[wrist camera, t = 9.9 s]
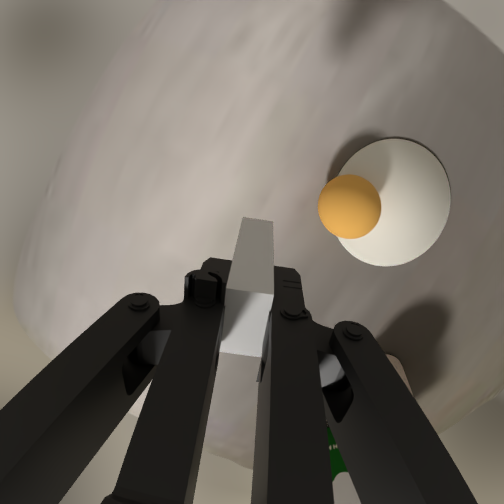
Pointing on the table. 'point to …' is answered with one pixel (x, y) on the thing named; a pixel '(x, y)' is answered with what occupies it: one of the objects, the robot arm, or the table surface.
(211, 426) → the table surface
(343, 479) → the milk carton
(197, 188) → the table surface
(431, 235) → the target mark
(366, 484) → the robot arm
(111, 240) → the table surface
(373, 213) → the ball
